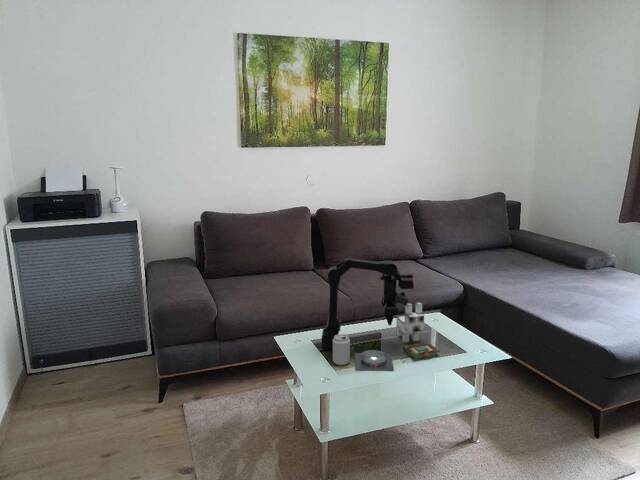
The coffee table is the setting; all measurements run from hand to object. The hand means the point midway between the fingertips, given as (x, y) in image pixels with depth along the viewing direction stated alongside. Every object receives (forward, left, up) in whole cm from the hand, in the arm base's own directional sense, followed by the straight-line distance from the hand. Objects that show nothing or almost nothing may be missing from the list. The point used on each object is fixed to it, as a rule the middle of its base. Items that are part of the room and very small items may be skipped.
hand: (388, 321), depth 223 cm
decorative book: (+12, -8, -14) cm, 20 cm away
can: (-22, -15, -14) cm, 30 cm away
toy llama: (+11, +11, -14) cm, 21 cm away
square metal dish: (-8, -15, -13) cm, 21 cm away
